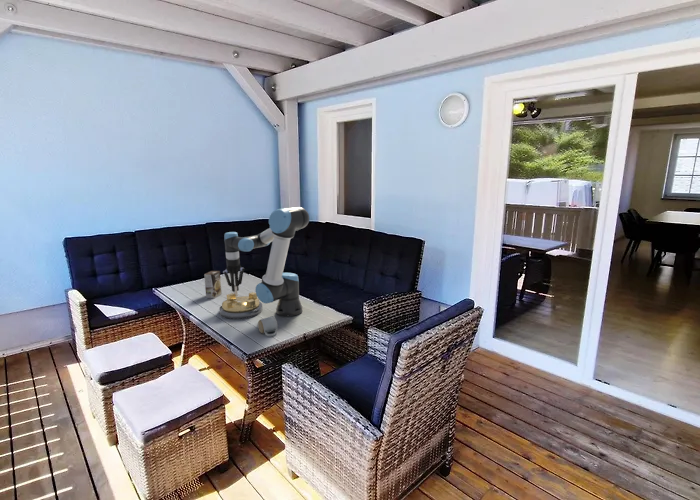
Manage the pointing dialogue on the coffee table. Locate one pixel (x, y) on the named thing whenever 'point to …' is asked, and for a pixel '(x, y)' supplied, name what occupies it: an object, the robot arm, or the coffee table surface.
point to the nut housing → (241, 315)
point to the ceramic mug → (268, 325)
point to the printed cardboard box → (213, 284)
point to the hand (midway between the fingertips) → (235, 296)
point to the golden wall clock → (240, 303)
